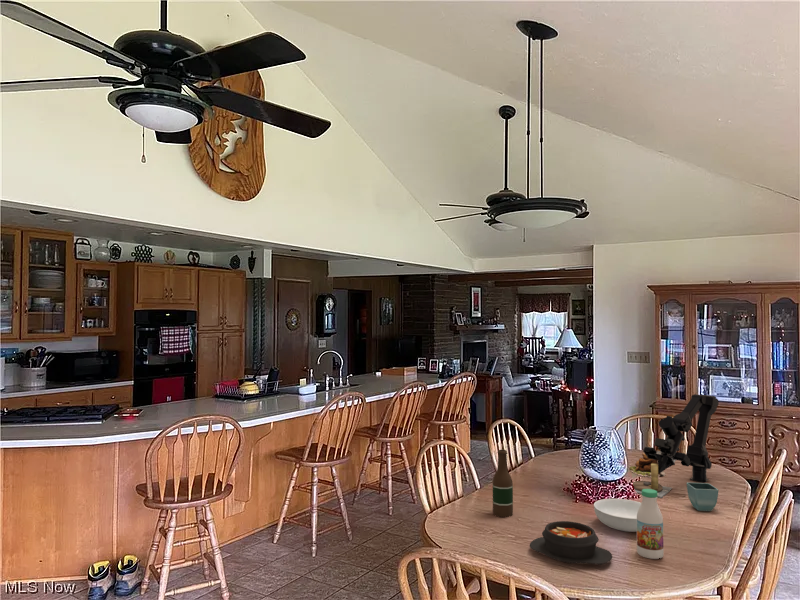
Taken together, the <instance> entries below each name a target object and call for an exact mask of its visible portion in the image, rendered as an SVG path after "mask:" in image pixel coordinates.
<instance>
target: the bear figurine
mask: <svg viewBox="0 0 800 600" xmlns="http://www.w3.org/2000/svg"><path fill="white" fill-rule="evenodd" d="M656 451H660V450H658V449H657V450H656ZM641 455H642V457H640V458H638V460H636V462H635V464H634V465H635V466H634V465H632V466H629V468H628V470H629V471H630V470H631V471H630V472H633V473H632V474H635V475H637V474H638V476H642V477H644V476H645V477H648V478H650V477H651V464H658V459H656V460H653V459H649V458H648V457H647V456H646V455H645V453H644V452H642V454H641ZM664 471H665V470H664ZM664 471H662V472H661V473H658V476H659V477H660V476H665V475H667V474H666V472H664Z"/></svg>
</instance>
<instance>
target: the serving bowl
mask: <svg viewBox="0 0 800 600" xmlns="http://www.w3.org/2000/svg"><path fill="white" fill-rule="evenodd" d="M641 503H642V502H640V501H635V500H631V499H624V498H603V499H599V500H596V501H595V502H594V503H593V509H594V513H595V516H596V518H597V519H598V520H599V521H600V522H601V523H602V524H603V525H605V526H607V527H609V528H612V529H614V530H617V531H619V532H620V531H622V532H630V533H631V532H633V533H634V532H636V533H637V513H638V509H639V507H640V505H641Z"/></svg>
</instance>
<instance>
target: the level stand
mask: <svg viewBox="0 0 800 600" xmlns="http://www.w3.org/2000/svg"><path fill="white" fill-rule="evenodd" d="M662 489H663V490H662V491H660V492H657V494H658V495H657V498H658V497H659V499H663V498H664V497H665V496H666V495H668V494H669V493H670V492H671V491H672V490H673V487H670V486H664V485H662ZM671 489H672V490H671ZM670 490H671V491H670ZM635 491H636V492H637V493H639V494H638V495H642V491H640V490H637V489H635ZM637 493H636V494H637ZM663 496H664V497H663Z"/></svg>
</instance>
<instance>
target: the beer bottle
mask: <svg viewBox="0 0 800 600" xmlns="http://www.w3.org/2000/svg"><path fill="white" fill-rule="evenodd" d="M497 455H498V456H497V468H496V472H495V473H494V475H493V478H492V512H493V516H495V515H496V516H495V517H498V516H499V517H498V518H510V517H513V515H514V513H513V512H514V495H513V494H514V486H513V479H512V477H511V475H510V473H509V470H508V459H507V457H508V456H507V455H508V451H507V450H506V449H498V450H497ZM509 516H510V517H509Z"/></svg>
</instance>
